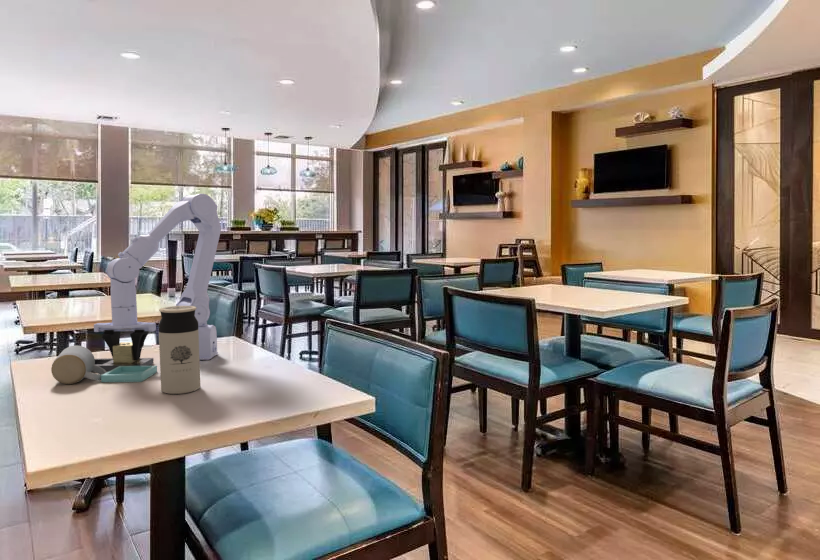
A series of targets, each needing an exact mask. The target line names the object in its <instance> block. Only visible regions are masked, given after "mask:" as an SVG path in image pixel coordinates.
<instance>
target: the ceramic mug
mask: <svg viewBox="0 0 820 560" xmlns="http://www.w3.org/2000/svg"><path fill="white" fill-rule="evenodd" d="M95 359H96V358H95V355H94V354H93V353H92V351H91V350H90V349H88V348H87V347H85V346H83V345H70V346H68V347H66V348H64V349H63V350H62V351H61V352H60V353H59V354H58V356H56V358H55V359H54V360H53V362H52V363H51V370H50V371H51V374H52V377H53V378H54V379H55V381H56V382H58V383H61V384H63V385H72V384H73V385H74V384H77V383H80V381H82V380H83V379H84V378H85V379H88V380H92V381H101V375H103V374H105V373H107V372H106V370H104V369H103V368H101V367H99V366H97V365H95ZM91 371H93V372H91Z"/></svg>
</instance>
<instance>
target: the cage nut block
mask: <svg viewBox="0 0 820 560" xmlns="http://www.w3.org/2000/svg"><path fill="white" fill-rule="evenodd" d="M138 361H140V359H138V360H134V358H133V344H132V341H129V342H119V344H116V345H114V346H113V363H114V364H135V363H136V362H138Z"/></svg>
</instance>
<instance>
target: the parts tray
mask: <svg viewBox="0 0 820 560" xmlns="http://www.w3.org/2000/svg"><path fill="white" fill-rule="evenodd" d="M157 373H158V365H150V366H119V367H117V368H115V369H113V370H111V371H109V372H107V373H105V374H103V375H101V380H100V382H101V383H142V382H144V381H146V379H149V377H152V376H154V375H155V374H157Z"/></svg>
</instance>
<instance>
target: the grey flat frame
mask: <svg viewBox="0 0 820 560" xmlns="http://www.w3.org/2000/svg"><path fill="white" fill-rule="evenodd" d="M94 359H95V365H97V366H99V367H101V368H103V369H104V370H106V372H109V371H111V370H113V369H115V368H117V367H119V366H153V364H154V357H140V361H138V362H136V363H135V364H114V363H113V358H111V357H110V358H109V357H108V358H107V357H105V358H100V357H99V358H94ZM91 373H94V372H93V371H91Z"/></svg>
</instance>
